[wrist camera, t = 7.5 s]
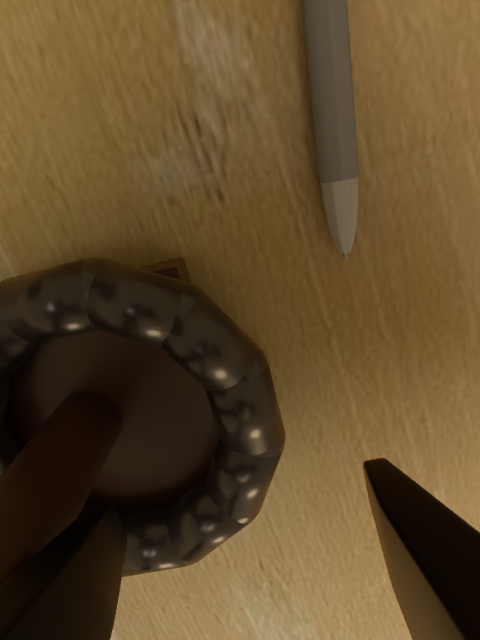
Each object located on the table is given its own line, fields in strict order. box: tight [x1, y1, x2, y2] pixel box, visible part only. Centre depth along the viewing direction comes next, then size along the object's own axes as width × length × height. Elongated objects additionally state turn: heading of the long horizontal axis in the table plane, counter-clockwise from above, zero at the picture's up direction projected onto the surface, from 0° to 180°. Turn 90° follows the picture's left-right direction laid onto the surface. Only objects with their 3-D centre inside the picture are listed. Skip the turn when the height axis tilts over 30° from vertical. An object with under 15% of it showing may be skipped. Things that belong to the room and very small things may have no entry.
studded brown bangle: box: [0, 258, 285, 577], centre depth 13 cm, size 10×10×2 cm
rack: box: [0, 258, 219, 585], centre depth 11 cm, size 8×8×8 cm
